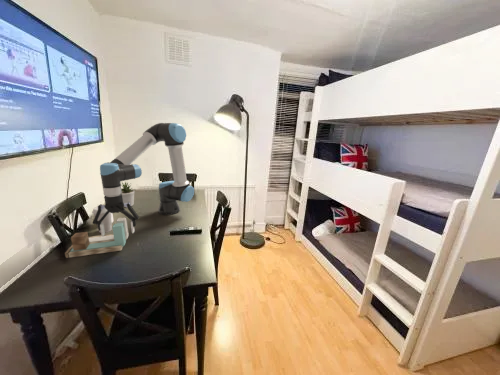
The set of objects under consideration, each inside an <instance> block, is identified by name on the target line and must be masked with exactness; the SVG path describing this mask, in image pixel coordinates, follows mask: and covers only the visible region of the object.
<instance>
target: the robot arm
mask: <svg viewBox="0 0 500 375" xmlns="http://www.w3.org/2000/svg"><path fill="white" fill-rule="evenodd" d="M186 138H187V132H186V129H185V128H184V126H183V125H182V124H180V123H176V122H158V123H156V124H154V125H152V126H151V127H148V128H147V129H146V130H145V131H144V132H142V135H141V136H140V137H139V138H138V139H137V140H135V141H134V142H133V143H132V144H130V145H129V146H128V147H127V148H126V149H125V150H124V151H122V152H121V153H120V154H119V155H117V156H116V157H115V158H114V159H112V160H111V161H110V162H104V163H102V164H100V165H99V175H100V179H101V185H102V191H103V196H104V197H103V198H104V204H101V203H100V204H99V205H97V206H98V211H97V213H96V216H95V217H94V218H93V221H92V222H91V223H92V224H94V225H96V226H97V225H98V226H97V229H98V231H99V230H101V233H100V236H101V235H102V237H104V235H106V233H105V230H104V224H103V223H101V222H102V221H103V220H104V218H105V217H106V216H107V215H108V213H109V212H110V213H113V214H119V213H121V214H123V215H124V216H125V217H126V218H127V219H129V220H131V221H130V228H131V233H132V234H134V233H135V227H136V225H137V220H140V216H139V214H138V213H137V212H136V211H135V209H134V208H133V206H131V204H130V202H128V203H125V204H124V203H123V198H122V194H121V193H122V191H121V189H122V186H121V185H122V182H123V181H124V182H126V181H129V180H135V179H138V178H140V177H141V176H142V173H143V172H142V171H143V170H142V168H141V166H140V165H138V164H135V163H134V164H133V162H135V161H136V160H137V159H138V158H139V157H140V156H142V155H143V154H144V153H145V152H146V151H147V150H148V149H149V148H150V147H151V146H154V145H156V144H157V143H159V142H163V143H164V146H165V147H167V150H168V154H169V160H170V164H171V165H170V166H171V170H172V171H171V172H172V178H173V180H169V181H168V180H167V181H163V182H160V183H159V184H158V192H159V193H158V194H159V200H160V201H159V207H158V214H159V215H164V216H165V215H166V216H167V215H168V216H170V215H174V214H178V213H179V212H181V208H180V205H179V203H178V201H179V202H184V203H185V202H186V203H187V202H189V201H191V200H192V199H193V197H194V194H195V188H194V187H193V186H192V185H191V184H190V181H189V180H188V179H187V173H186V166H185V159H184V152H183V145H184V142H185V141H186ZM124 206H126V207H124ZM103 208H106V209H107V210H108V211H107V212H106V213H105V214H104V215H103V217H102V218H101V219H100V220H99V221H97V220H98V218H99V215H100V213H101V211H102V209H103ZM126 208H127V209H128V211H129V212H128V211H127V210H126Z"/></svg>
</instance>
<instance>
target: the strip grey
mask: <svg viewBox="0 0 500 375" xmlns="http://www.w3.org/2000/svg"><path fill="white" fill-rule="evenodd" d="M117 223H123V226H124V232H125V239H126V240H128V238H129V235H130V234H129V229H128V228H129V227H128V221H127V217H118V218H117V219H116V221H115V224H117ZM109 235H110V234H109ZM100 236H101V235H100ZM108 240H114V235H110V236H104V237H102V236H101V237H93V238H89V243H92V242H100V241H108Z"/></svg>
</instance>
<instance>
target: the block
mask: <svg viewBox="0 0 500 375" xmlns="http://www.w3.org/2000/svg"><path fill="white" fill-rule="evenodd" d="M88 237H89V234H88V231H80V232H74V234H73V235H72V236H71V237H70V241H71V246H72V245H73V249H74V251H75V250H83V249H86V248H87V247H88V246H89V244H90V243H89V238H88Z"/></svg>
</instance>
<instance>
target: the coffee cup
mask: <svg viewBox="0 0 500 375" xmlns="http://www.w3.org/2000/svg"><path fill="white" fill-rule="evenodd" d="M98 206H99V205H97V206H96V207H93V208H92V209H93V210H92V214H93V216H94V218H95V216H96V213H97V211H98ZM107 211H108V210H107V209H106V208H103V209H102V211H101V213H100V215H99V218H98V220H97V221H99V220H100V219H101V218H102V217H103V215H104V214H105V213H106V212H107ZM101 223H103V224H104V230H105V234H106V233H110V232H112V231H113V228H112V227H113V225H112V224H113V223H112V222H111V213H110V212H109V213H108V215H107V216H106V217H105V218H104V220H103V221H102V222H101ZM96 226H97V227H98V225H97V224H96ZM98 232H99V234H101V230H98Z"/></svg>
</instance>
